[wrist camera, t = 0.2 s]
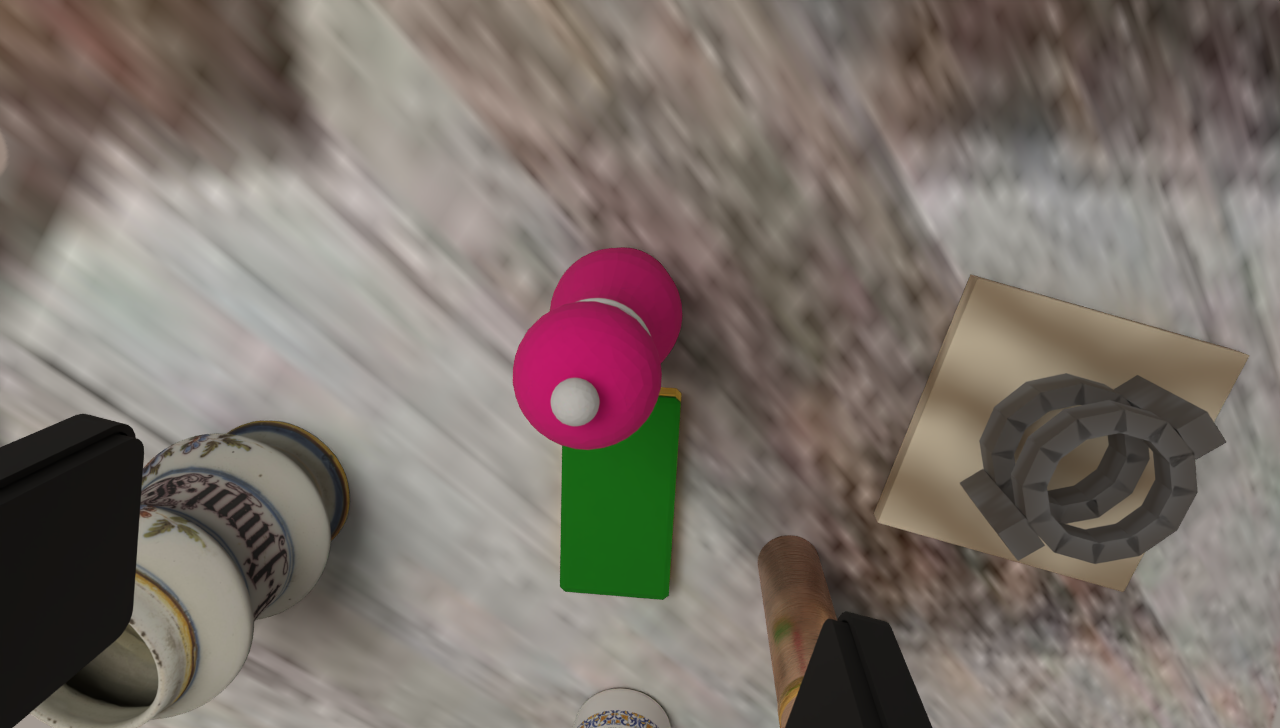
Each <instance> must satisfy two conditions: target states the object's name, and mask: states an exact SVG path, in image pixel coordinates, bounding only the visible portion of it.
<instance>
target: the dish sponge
mask: <svg viewBox="0 0 1280 728" xmlns="http://www.w3.org/2000/svg"><path fill="white" fill-rule="evenodd" d="M680 409H681V393H680V392H679V391H678V390H677V389H676V388H663V387H661V389H660V393H659V396H658V399H657V402H656V404H655V407H654V409H653V411H652V413H651V414H650V416H649V417H648V419H647V420H646V422H645V423H644V424H643V425H642V426H641V427H640V428H639V429H638V430H637V431H636V432H635V433H633V434H632V435H631V436H629V437H628V438H626V439H625V440H623V441H621V442H619V443H617V444H614V445H611V446H608V447H604V448H599V449H591V450H583V449H574V448H570V447H566V446H562V494H561V555H560V587H561V588H562V589H563V590H564V591H565V592H576V593H588V594H600V595H612V596H624V597H637V598H649V599H661V600H663V599H665V598H666V597H667V596H669V583H670V568H671V552H672V536H673V520H674V504H675V489H676V473H677V457H678V441H679V425H680Z"/></svg>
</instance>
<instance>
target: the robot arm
mask: <svg viewBox="0 0 1280 728" xmlns="http://www.w3.org/2000/svg"><path fill="white" fill-rule="evenodd" d="M143 461H144V446H143V444H142V442H141V441H140V440H139V439H136V438H135V433H134V431H133V429H132V428H131V427H130V426H129V425H126V424H123V423H119V422H115V421H111V420H107V419H103V418H99V417H96V416H92V415H87V414H80V415H75V416H73V417H71V418H68V419H66V420H64V421H61V422H59V423H57V424H54V425H52V426H49V427H47V428H45V429H42V430H40V431H38V432H35V433H33V434H31V435H28V436H26V437H24V438H21V439H19V440H17V441H14V442H12V443H10V444H7V445H5V446H3V447H0V728H12V727H14V726H15V725H16V724H18V723H19V722H20V721H21V720H22V719H23V718H25V717H26V716H27V715H28V714H29V713H31V712H32V711H33V710H34V709H35V708H37V707H38V706H39V705H40V704H41V703H42V702H44V701H45V700H46V699H47V698H48V697H50V696H51V695H52V694H53V693H54V692H55V691H57V690H58V689H59V688H60V687H61V686H63V685H64V684H65V683H66V682H67V681H68V680H70V679H71V678H72V677H73V676H74V675H76V674H77V673H78V672H79V671H80V670H82V669H83V668H84V667H85V666H86V665H87V664H89V663H90V662H91V661H92V660H93V659H95V658H96V657H97V656H98V655H99V654H100V653H102V652H103V651H104V650H105V649H106V648H108V647H109V646H110V645H111V644H112V643H113V642H115V641H116V640H117V639H118V638H119V637H120V636H121V635H122V633H123V632H124V631H125V629H126V627H127V626H128V624H129V622H130V619H131V616H132V613H133V605H134V591H135V576H136V562H137V547H138V533H139V518H140V504H141V489H142V475H143ZM785 728H932V726H931V723H930V721H929V718H928V716H927V713H926V711H925V709H924V706H923V704H922V701H921V699H920V696H919V694H918V692H917V689H916V687H915V684H914V682H913V679H912V677H911V675H910V672H909V670H908V667H907V665H906V662H905V660H904V658H903V655H902V653H901V650H900V648H899V645H898V643H897V641H896V638H895V636H894V633H893V631H892V628H891V627H890V625H889V623H887V622H885V621H881V620H877V619H873V618H870V617H866V616H862V615H858V614H854V613H850V612H844V613H842V614H841V616H840V617H839V619H838V621H837V620H833V619H827V620H826V621H825V622H824V624H823V626H822V628H821V631H820V634H819V636H818V639H817V642H816V645H815V647H814V650H813V653H812V655H811V658H810V661H809V664H808V666H807V669H806V672H805V675H804V677H803V680H802V683H801V685H800V688H799V691H798V694H797V696H796V699H795V702H794V704H793V707H792V710H791V713H790V715H789V718H788V721H787V723H786V726H785Z"/></svg>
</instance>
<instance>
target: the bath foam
mask: <svg viewBox="0 0 1280 728" xmlns="http://www.w3.org/2000/svg"><path fill="white" fill-rule="evenodd" d="M574 728H671V726H670V722H669V719H668V717H667V715H666V713H665V711H664V710H663V709H662V707H661V706H660V705H659V704H658V703H657V702H656V701H655V700H653V699H652V698H651V697H649V696H647V695H645V694H643V693H641V692H638V691H635V690H631V689H622V688H618V689H610V690H606V691H602V692H600V693H598V694H596V695H594V696H592V697H591V698H590V699H588V700H587V701H586V702H585V703H584V704H583V706H582V707H581V708H580V710H579V712H578V714H577V717H576V720H575V724H574Z"/></svg>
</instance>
